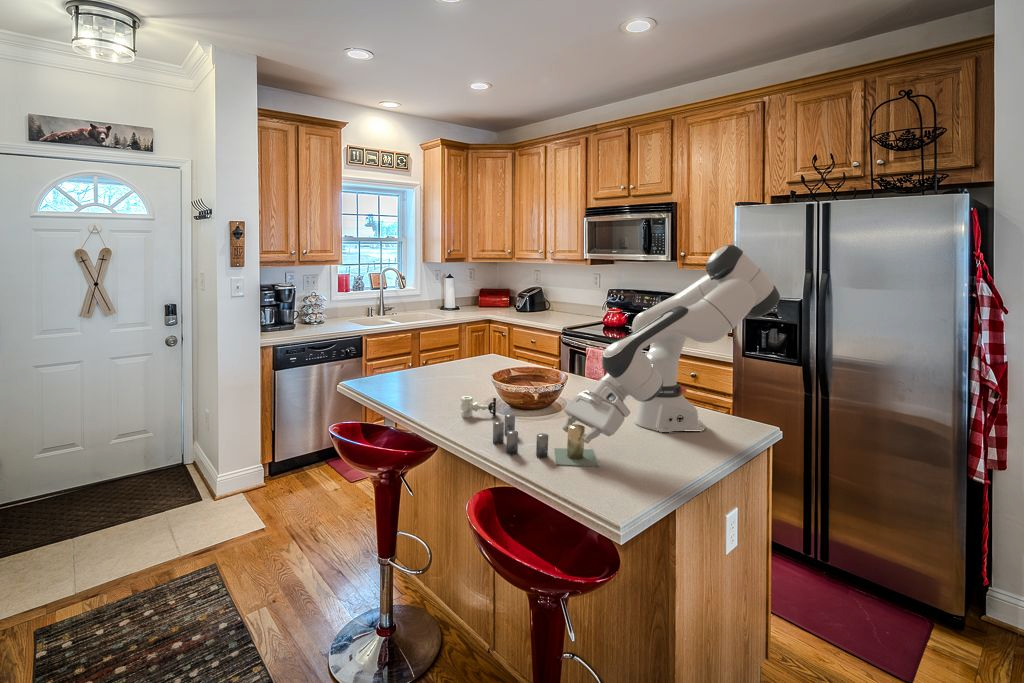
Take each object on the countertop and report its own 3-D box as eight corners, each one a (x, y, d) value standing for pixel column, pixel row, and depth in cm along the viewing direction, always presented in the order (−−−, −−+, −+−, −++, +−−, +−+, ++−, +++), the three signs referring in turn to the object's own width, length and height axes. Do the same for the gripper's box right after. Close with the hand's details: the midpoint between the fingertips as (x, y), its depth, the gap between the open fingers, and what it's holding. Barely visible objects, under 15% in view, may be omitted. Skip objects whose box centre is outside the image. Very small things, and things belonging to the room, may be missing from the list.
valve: (459, 419, 180) (495, 419, 180) (460, 400, 179) (496, 400, 179) (461, 413, 187) (495, 413, 187) (461, 394, 186) (496, 395, 186)
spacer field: (511, 431, 168) (512, 413, 167) (549, 457, 147) (550, 436, 147) (483, 435, 164) (483, 417, 163) (518, 462, 143) (519, 441, 142)
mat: (592, 450, 154) (592, 449, 153) (598, 466, 142) (598, 465, 142) (554, 449, 154) (554, 448, 154) (556, 465, 142) (556, 464, 142)
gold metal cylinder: (582, 453, 150) (583, 424, 148) (584, 459, 145) (585, 429, 144) (566, 453, 150) (567, 424, 149) (567, 459, 146) (568, 429, 144)
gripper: (578, 382, 157) (548, 418, 154) (622, 400, 139) (589, 441, 136) (589, 395, 160) (560, 431, 157) (634, 414, 142) (602, 455, 139)
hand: (574, 436), depth 147 cm, fingers open, 8 cm apart
